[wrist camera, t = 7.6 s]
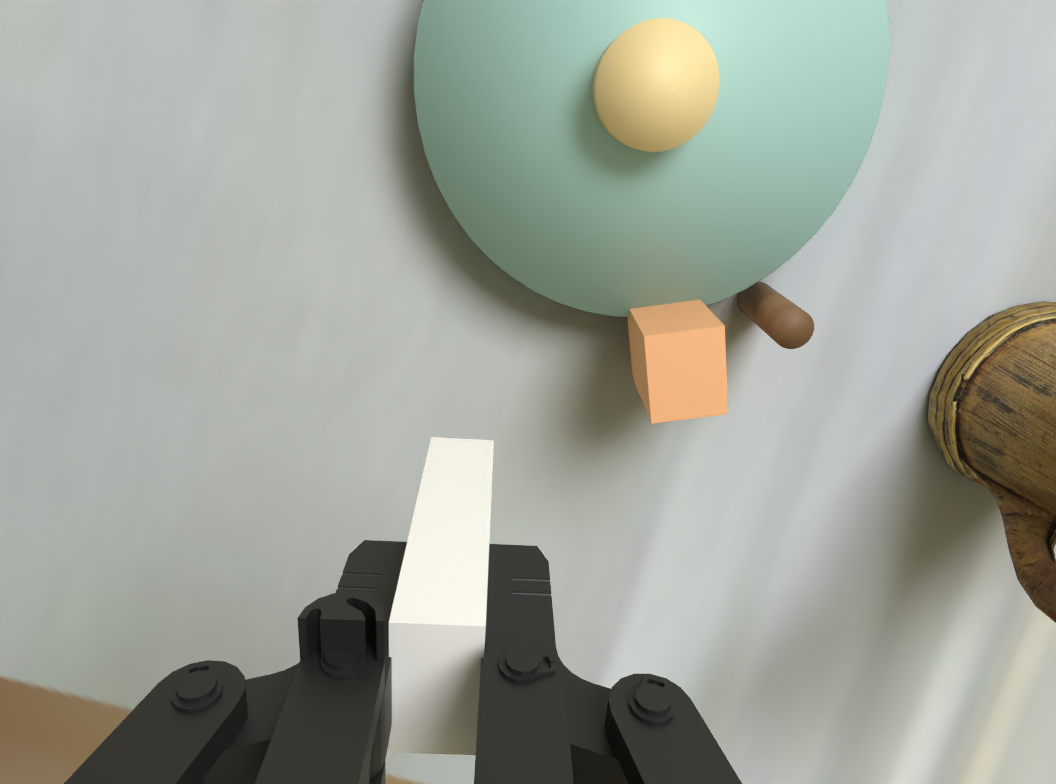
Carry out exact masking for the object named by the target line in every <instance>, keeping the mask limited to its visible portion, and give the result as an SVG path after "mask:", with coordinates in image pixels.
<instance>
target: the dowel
mask: <svg viewBox="0 0 1056 784" xmlns="http://www.w3.org/2000/svg"><path fill="white" fill-rule="evenodd" d="M738 305H739V308H740V309H741V311H742V312H744V313H745V314H746V315H747V316H748V317H749V318H750V319H751V320H752V321H753V322H755V323H756V324H757V325H758V326H759V327H760V328H761V329H762V330H763V331H764V332H765V333H767V334H768V335H769V336H770V337H771V338H772V339H773V340H774V341H775V342H776V343H778V344H779V345H780V346H781V347H784V348H787V349H795V348H798V347H801V346H803V345H804V344H805V343H807V342H808V341H809V339H810V338H811V336H812V334H813V331H814V322H813V320H812V318H811V316H810V315H809V314H808V313H806V312H805V311H803V310H802V309H801V308H799V307H798V306H796V305H795V304H794V303H792V302H791V301H789V300H788V299H786V298H785V297H784V296H782V295H781V294H779V293H778V292H777V291H775V290H774V289H772V288H771V287H769V286H768V285H767V284H765V283H763V282H756V283H755V284H753V285H752V286H750V287H748V288H747V289H745V290H743V291H741V292H740V293H739V296H738Z"/></svg>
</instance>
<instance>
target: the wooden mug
mask: <svg viewBox="0 0 1056 784" xmlns="http://www.w3.org/2000/svg"><path fill="white" fill-rule="evenodd" d="M927 420H928V423H929V426H930V429H931V432H932V436H933V439H934V442H935V444H936V445H937V447H938V449H939V450H940V452H941V454H942V455H943V457H944V459H945V460H946V462H947V463H948V464H949V465H950V466H951V467H952V469H953V470H954V471H955V472H957V473H959V474H961V475H963V476H965V477H967V478H969V479H971V480H973V481H976V482H978V483H980V484H982V485H984V486H986V487H987V488H988V489H989V490H990V491H991V493H992V494H993V495H994V497H995V498H996V499H997V502H998V505H999V508H1000V512H1001V515H1002V518H1003V522H1004V527H1005V533H1006V538H1007V543H1008V548H1009V552H1010V555H1011V559H1012V562H1013V565H1014V569H1015V572H1016V575H1017V579H1018V580H1019V582H1020V584H1021V585H1022V587H1023V588H1024V590H1025V591H1026V593H1027V594H1028V596H1029V597H1030V599H1031V600H1032V602H1033V603H1034V605H1035V606H1036V607H1037V608H1038V609H1039V610H1041V611H1042V612H1043V613H1044V614H1046V615H1047V616H1048V617H1049V618H1051V619H1052V620H1053V621H1054V622H1056V559H1055V554H1054V550H1053V549H1054V546H1055V544H1056V303H1054V302H1045V301H1043V302H1036V303H1030V304H1024V305H1018V306H1014V307H1012V308H1009V309H1007V310H1004V311H1002V312H999V313H997V314H994V315H992V316H990V317H989V318H987V319H986V320H985V321H983V322H982V323H980V324H979V325H978V326H976V327H975V328H974V329H972V330H971V331H970V332H969V333H968V334H967V335H966V336H965V337H964V338H963V339H962V340H961V341H960V343H959V344H958V345H957V346H956V347H955V348H954V349H953V350H952V351H951V353H950V354H949V356H948V358H947V359H946V361H945V363H944V364H943V366H942V368H941V369H940V372H939V374H938V376H937V378H936V381H935V383H934V385H933V388H932V390H931V392H930V397H929V408H928V419H927Z"/></svg>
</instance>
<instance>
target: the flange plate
mask: <svg viewBox="0 0 1056 784" xmlns="http://www.w3.org/2000/svg"><path fill="white" fill-rule="evenodd" d="M888 57H889V29H888V13H887V6H886V0H423V3H422V7H421V12H420V16H419V20H418V25H417V34H416V42H415V50H414V97H415V105H416V113H417V121H418V127H419V131H420V135H421V139H422V143H423V147H424V151H425V155H426V158H427V160H428V163H429V165H430V168H431V171H432V173H433V176H434V179H435V181H436V184H437V186H438V188H439V190H440V192H441V193H442V195H443V197H444V199H445V201H446V203H447V205H448V207H449V209H450V210H451V212H452V213H453V215H454V216H455V218H456V219H457V221H458V222H459V223H460V225H461V226H462V228H463V229H464V231H465V232H466V233H467V235H468V236H469V237H470V238H471V239H472V241H473V242H474V243H475V244H476V245H477V246H478V247H479V248H480V249H481V250H482V251H483V253H484V254H485V255H486V256H487V257H488V258H489V259H490V260H492V261H493V262H494V263H495V264H496V265H498V266H499V267H500V268H501V269H502V270H503V271H505V272H506V273H507V274H508V275H509V276H511V277H512V278H514V279H516V280H517V281H519V282H520V283H522V284H523V285H525V286H526V287H528V288H529V289H531V290H533V291H535V292H537V293H539V294H541V295H543V296H545V297H547V298H549V299H551V300H553V301H556V302H558V303H561V304H564V305H567V306H570V307H573V308H576V309H579V310H582V311H587V312H592V313H597V314H603V315H608V316H621V317H627V321H628V332H629V343H630V354H631V365H632V376H633V380H634V382H635V385H636V387H637V390H638V392H639V395H640V397H641V399H642V402H643V404H644V407H645V409H646V412H647V414H648V417H649V419H650V422H651V424H653V423H661V422H669V421H676V420H684V419H692V418H700V417H708V416H716V415H724V414H728V396H727V370H726V344H725V325H724V324H723V323H722V322H721V321H720V320H719V319H718V318H717V317H716V316H715V315H714V314H713V313H712V312H711V310H710V309H709V308H708V307H707V305H710V304H713V303H716V302H719V301H721V300H723V299H726V298H728V297H730V296H732V295H734V294H736V293H738V292H741V291H743V290H745V289H747V288H748V287H750V286H752V285H753V284H755V283H756V282H758V281H760V280H761V279H763V278H764V277H766V276H768V275H769V274H771V273H772V272H773V271H775V270H776V269H777V268H778V267H780V266H781V265H782V264H783V263H785V262H786V261H787V260H789V259H790V258H791V257H792V256H794V255H795V254H796V253H797V252H798V251H799V250H800V249H801V248H802V247H803V246H804V245H805V244H806V243H807V242H808V241H809V240H810V239H811V238H812V237H813V236H814V235H815V234H816V233H817V231H818V230H819V229H820V228H821V226H822V225H823V224H824V223H825V221H826V220H827V219H828V218H829V216H830V215H831V214H832V213H833V211H834V210H835V209H836V207H837V206H838V204H839V203H840V201H841V199H842V198H843V196H844V195H845V193H846V191H847V190H848V188H849V187H850V185H851V183H852V182H853V180H854V178H855V176H856V174H857V172H858V170H859V167H860V165H861V163H862V161H863V159H864V157H865V155H866V153H867V151H868V148H869V145H870V142H871V139H872V136H873V133H874V130H875V127H876V125H877V122H878V118H879V114H880V109H881V105H882V100H883V96H884V91H885V86H886V77H887V67H888Z"/></svg>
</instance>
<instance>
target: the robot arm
mask: <svg viewBox="0 0 1056 784" xmlns="http://www.w3.org/2000/svg"><path fill="white" fill-rule="evenodd" d="M493 445H494V440H475V439H455V438H436V437H431V441H430V445H429V450H428V454H427V458H426V463H425V467H424V471H423V476H422V480H421V484H420V489H419V493H418V497H417V502H416V506H415V511H414V515H413V519H412V524H411V528H410V532H409V537H408V541H407V542H393V541H370V540H364V541H363V542H362V543H361V544H360V545H359V546H358V547H357V548H356V549H355V550H354V551H353V552H351V553H350V554H349V556H348V559H347V562H346V565H345V568H344V570H343V575H342V576H341V579H340V582H339V585H338V590H336V593H335V594H331V595H328V596H325V597H322V598H319V599H317V600H316V601H314V602H313V603H311V604H310V605H308V606H307V607H305V609H304V610H303V611H302V613H301V614H300V616H299V617H298V630H299V645H300V662H299V663H298V664H297V665H295V666H293V667H291V668H288V669H286V670H284V671H281V672H278V673H274V674H271V675H266V676H261V677H256V678H252V679H247V680H245V677H244V675H243V674H242V673H241V671H240V670H239V669H238V667H236V666H234V665H231V664H229V663H227V662H224V661H203V662H198V663H193V664H189V665H187V666H185V667H182V668H180V669H178V670H176V671H174V672H172V673H171V674H169V675H168V676H167V677H166V678H164V679H163V680H162V681H161V682H159V683H158V684H157V685H156V686H155V687H154V688H153V689H152V691H151V692H150V693H149V694H148V695H147V696H146V697H145V698H144V699H143V700H142V701H141V702H140V703H139V704H138V705H137V706H136V708H135V709H134V710H133V711H132V712H131V713H130V714H129V715H128V716H127V717H126V718H125V719H124V720H123V722H121V724H120V725H119V726H118V727H117V728H116V729H115V730H114V731H113V732H112V733H111V734H110V735H109V736H108V737H107V739H105V740H104V742H103V743H102V744H101V745H100V746H99V747H98V748H97V749H96V750H95V751H94V752H93V753H92V754H91V755H90V756H89V757H88V759H87V760H86V761H85V762H84V763H83V764H82V765H81V766H80V767H79V768H78V769H77V770H76V771H75V773H73V775H72V776H71V777H70V778H69V779H68V780H67V781H66V782H65V783H64V784H385V758H386V752H387V747H388V742H389V752H392V753H426V754H461V755H476V761H475V778H474V784H742V783H741V781H740V780H739V778H738V776H737V775H736V773H735V771H734V770H733V768H732V766H731V765H730V763H729V761H728V760H727V758H726V756H725V755H724V753H723V752H722V750H721V748H720V747H719V745H718V743H717V742H716V740H715V738H714V737H713V735H712V733H711V732H710V730H709V728H708V727H707V725H706V724H705V722H704V720H703V719H702V717H701V715H700V714H699V712H698V710H697V709H696V707H695V705H694V704H693V702H692V700H691V699H690V698H689V697H688V695H687V694H686V693H685V692H684V691H683V690H682V689H681V687H679V686H677V685H676V684H674V683H673V682H671V681H669V680H668V679H666V678H663V677H659V676H656V675H652V674H633V675H630V676H627V677H624V678H621V679H620V680H619V681H618V682H617V683H616V684H615V685H614V686H613V687H612V689H610V688H606V687H603V686H600V685H596V684H593V683H591V682H588V681H586V680H583V679H581V678H579V677H578V676H576V675H575V674H573V673H572V672H570V671H569V670H568V669H567V668H566V667H565V666H564V665H563V663H562V661H561V660H560V658H559V657H558V653H557V650H556V643H555V631H554V620H553V609H552V597H551V586H550V575H549V563H548V560H547V559H546V558H545V556H544V555H543V554H542V552H541V551H540V550H539V548H538V547H537V546H522V545H500V544H489V539H490V515H491V492H492V468H493Z"/></svg>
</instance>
